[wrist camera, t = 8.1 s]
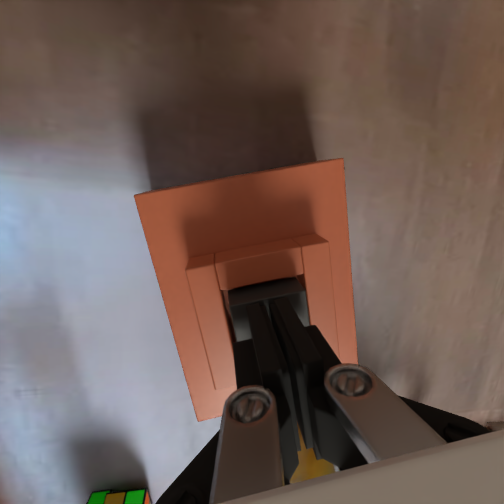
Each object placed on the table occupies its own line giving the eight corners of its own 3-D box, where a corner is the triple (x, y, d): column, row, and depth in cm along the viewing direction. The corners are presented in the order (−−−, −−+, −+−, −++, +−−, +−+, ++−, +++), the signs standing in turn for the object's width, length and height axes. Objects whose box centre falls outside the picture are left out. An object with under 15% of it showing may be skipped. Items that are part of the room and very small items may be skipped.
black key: (227, 289, 12) (228, 306, 11) (295, 275, 12) (305, 289, 11) (239, 349, 13) (242, 371, 12) (303, 335, 13) (314, 355, 12)
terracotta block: (151, 190, 15) (120, 198, 10) (316, 160, 15) (361, 155, 11) (201, 377, 18) (195, 450, 13) (335, 347, 19) (375, 406, 14)
